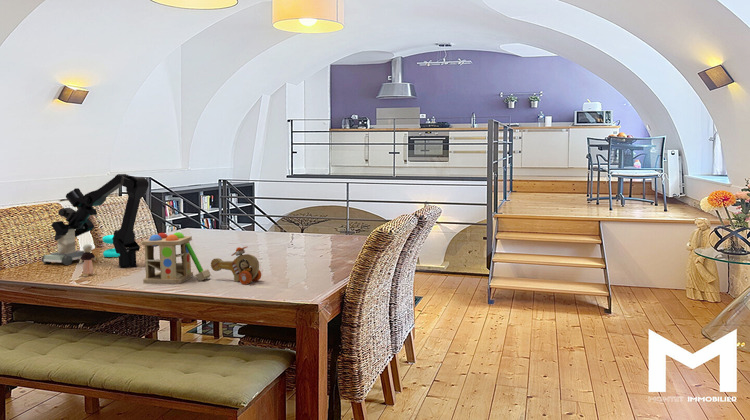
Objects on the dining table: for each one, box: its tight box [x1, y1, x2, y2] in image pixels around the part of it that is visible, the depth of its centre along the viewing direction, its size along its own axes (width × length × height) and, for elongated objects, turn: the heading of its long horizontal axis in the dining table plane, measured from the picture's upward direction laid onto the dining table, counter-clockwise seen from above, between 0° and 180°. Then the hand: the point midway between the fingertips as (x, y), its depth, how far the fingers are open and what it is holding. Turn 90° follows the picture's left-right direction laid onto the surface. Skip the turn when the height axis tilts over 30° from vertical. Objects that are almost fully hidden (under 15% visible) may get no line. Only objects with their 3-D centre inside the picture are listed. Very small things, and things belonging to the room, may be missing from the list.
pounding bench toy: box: [141, 231, 211, 284], centre depth 225 cm, size 23×14×18 cm, turn 89°
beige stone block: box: [57, 229, 77, 254], centre depth 264 cm, size 5×5×13 cm
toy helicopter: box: [210, 246, 262, 286], centre depth 222 cm, size 8×21×14 cm, turn 68°
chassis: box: [41, 249, 85, 266], centre depth 265 cm, size 16×13×4 cm
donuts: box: [102, 234, 120, 258], centre depth 281 cm, size 10×10×10 cm
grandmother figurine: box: [78, 243, 97, 277], centre depth 235 cm, size 8×4×13 cm, turn 168°
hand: (64, 238), depth 265 cm, fingers open, 9 cm apart
